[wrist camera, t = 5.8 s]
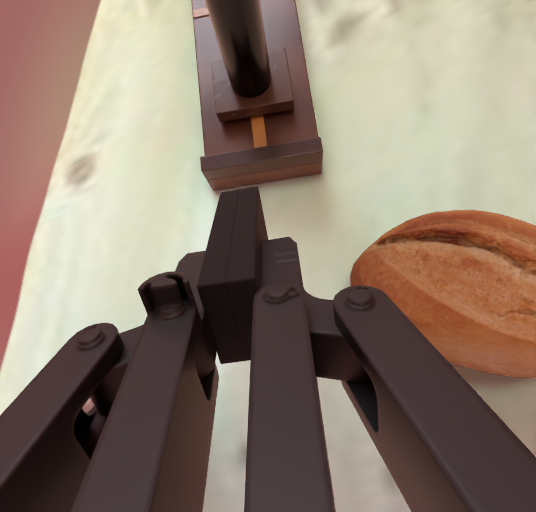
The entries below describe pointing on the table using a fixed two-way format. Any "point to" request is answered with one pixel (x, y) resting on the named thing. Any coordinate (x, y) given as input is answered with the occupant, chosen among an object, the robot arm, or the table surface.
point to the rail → (262, 126)
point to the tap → (246, 63)
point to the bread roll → (462, 286)
